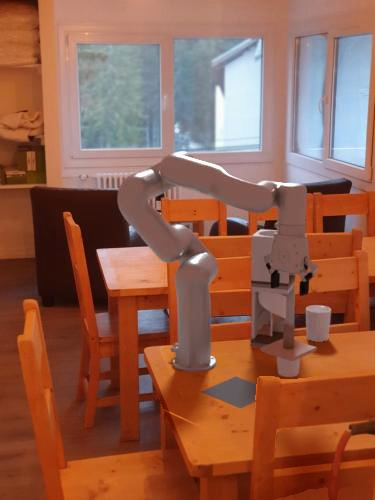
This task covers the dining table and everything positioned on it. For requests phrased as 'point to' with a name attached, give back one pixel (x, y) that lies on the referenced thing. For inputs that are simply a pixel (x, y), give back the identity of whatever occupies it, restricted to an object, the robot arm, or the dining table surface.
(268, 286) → the white coffee machine
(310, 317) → the white cup
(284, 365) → the shot glass
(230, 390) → the mat
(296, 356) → the lid
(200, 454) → the dining table surface
